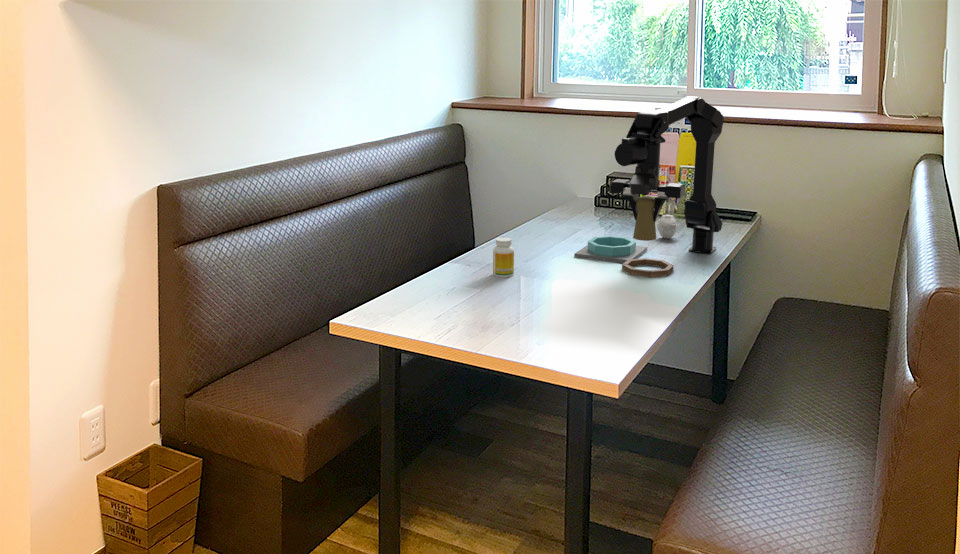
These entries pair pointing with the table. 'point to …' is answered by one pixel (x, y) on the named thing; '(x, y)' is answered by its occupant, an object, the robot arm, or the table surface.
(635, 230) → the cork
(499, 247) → the supplement bottle
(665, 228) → the frog figurine
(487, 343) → the table surface
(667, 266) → the walnut ring
